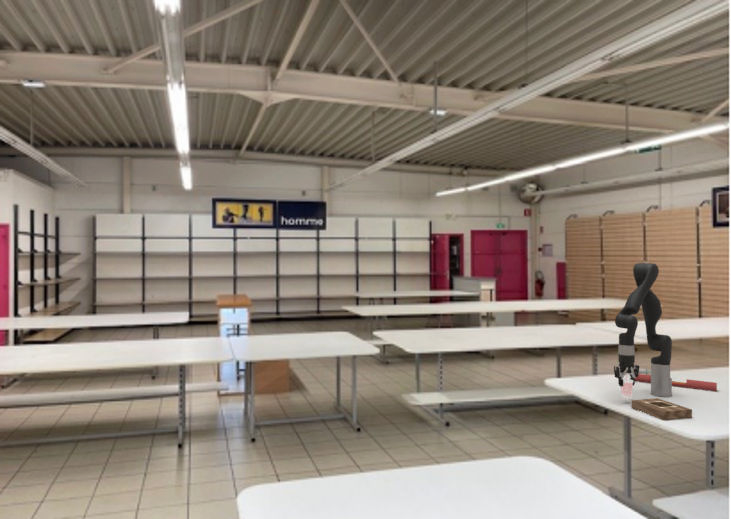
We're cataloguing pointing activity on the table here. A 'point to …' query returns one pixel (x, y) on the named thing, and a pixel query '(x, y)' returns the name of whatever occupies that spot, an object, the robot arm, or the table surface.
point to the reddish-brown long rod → (688, 384)
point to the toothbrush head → (644, 371)
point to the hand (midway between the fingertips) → (626, 385)
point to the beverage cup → (627, 388)
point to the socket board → (661, 409)
